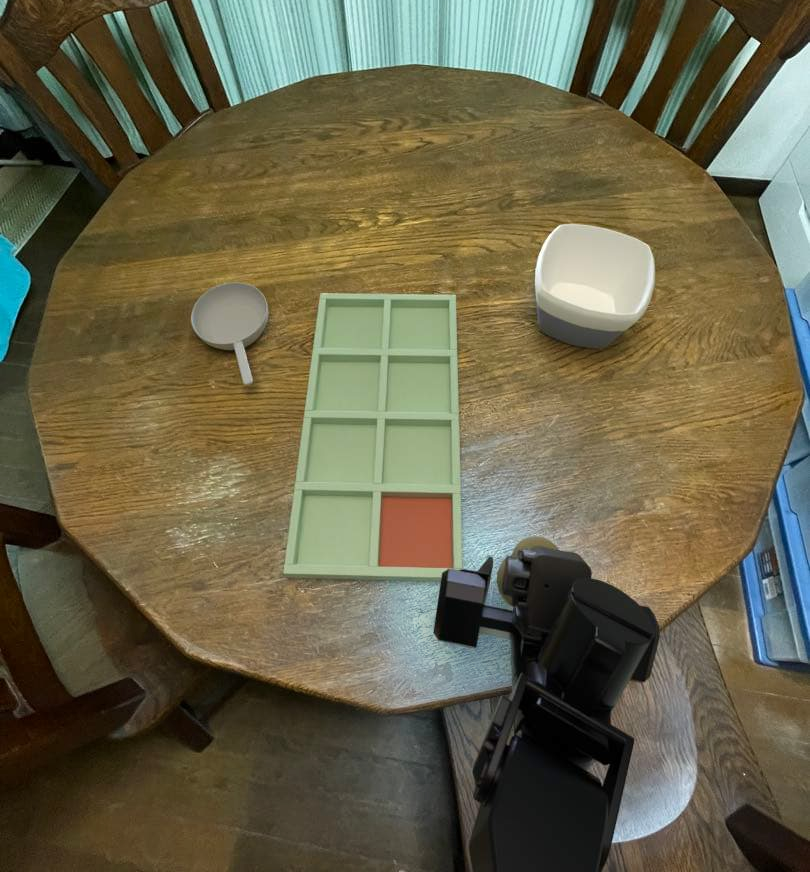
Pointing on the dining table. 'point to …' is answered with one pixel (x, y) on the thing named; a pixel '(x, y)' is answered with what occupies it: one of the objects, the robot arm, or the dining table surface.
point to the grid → (379, 443)
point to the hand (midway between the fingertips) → (535, 569)
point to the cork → (523, 544)
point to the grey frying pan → (231, 320)
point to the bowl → (592, 284)
